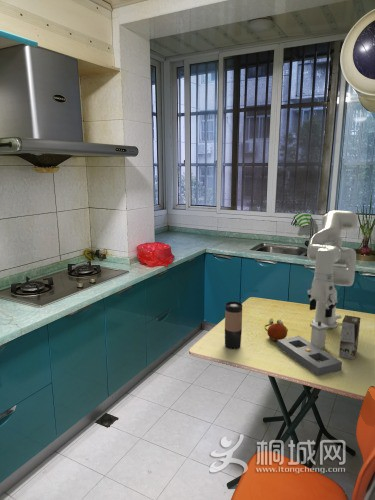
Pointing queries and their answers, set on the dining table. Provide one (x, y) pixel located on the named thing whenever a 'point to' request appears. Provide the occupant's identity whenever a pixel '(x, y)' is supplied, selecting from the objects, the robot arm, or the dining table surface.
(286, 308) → the dining table surface
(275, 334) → the fruit
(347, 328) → the coffee box
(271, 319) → the extension cord
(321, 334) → the plug
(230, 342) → the travel mug
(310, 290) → the robot arm
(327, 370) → the socket block
